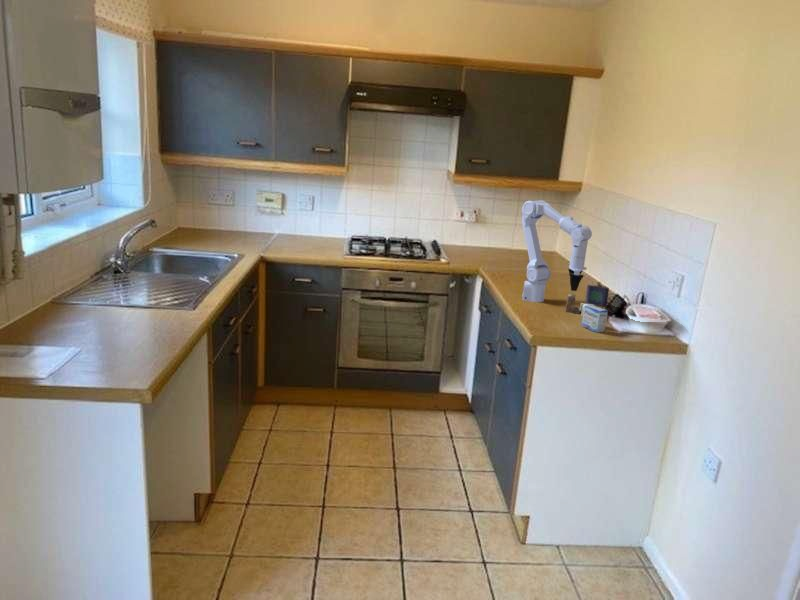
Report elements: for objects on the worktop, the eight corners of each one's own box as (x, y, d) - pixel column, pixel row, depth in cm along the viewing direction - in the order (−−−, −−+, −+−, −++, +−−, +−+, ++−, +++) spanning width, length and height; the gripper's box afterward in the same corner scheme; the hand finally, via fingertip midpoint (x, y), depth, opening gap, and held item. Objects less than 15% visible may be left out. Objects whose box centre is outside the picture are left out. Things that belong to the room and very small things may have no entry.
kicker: (566, 312, 246) (568, 296, 244) (565, 309, 251) (567, 293, 249) (578, 313, 245) (580, 297, 243) (577, 310, 250) (580, 294, 248)
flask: (584, 304, 263) (587, 280, 260) (585, 303, 266) (589, 279, 263) (605, 308, 259) (609, 284, 256) (607, 307, 261) (610, 283, 258)
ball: (582, 304, 244) (592, 306, 244) (581, 302, 248) (591, 304, 248) (580, 313, 246) (590, 315, 245) (579, 311, 249) (589, 313, 249)
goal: (581, 316, 243) (582, 309, 242) (579, 309, 252) (580, 303, 251) (594, 317, 242) (596, 310, 241) (593, 311, 251) (594, 304, 250)
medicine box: (580, 326, 231) (584, 305, 229) (588, 325, 233) (592, 304, 231) (596, 333, 225) (600, 311, 222) (604, 331, 227) (608, 309, 225)
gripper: (589, 260, 235) (584, 293, 239) (587, 254, 249) (582, 285, 253) (571, 258, 237) (566, 291, 241) (569, 252, 251) (565, 283, 254)
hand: (573, 288), depth 247 cm, fingers open, 7 cm apart
